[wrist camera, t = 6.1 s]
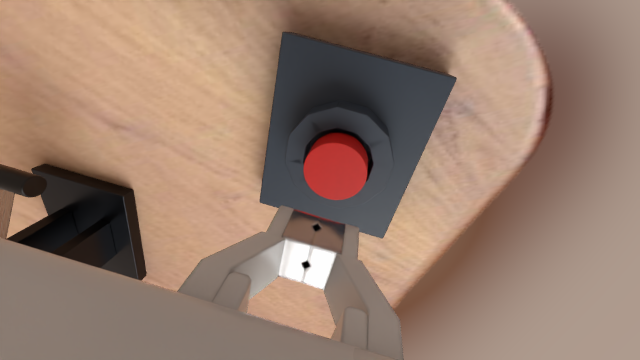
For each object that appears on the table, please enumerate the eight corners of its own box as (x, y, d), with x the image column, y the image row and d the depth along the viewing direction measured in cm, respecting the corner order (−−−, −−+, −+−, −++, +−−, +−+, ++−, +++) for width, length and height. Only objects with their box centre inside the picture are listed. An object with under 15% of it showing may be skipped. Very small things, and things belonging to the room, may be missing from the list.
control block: (290, 31, 16) (271, 30, 13) (449, 74, 16) (468, 83, 13) (266, 191, 22) (249, 216, 19) (382, 225, 22) (383, 255, 19)
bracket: (44, 163, 25) (-182, 250, 15) (133, 189, 25) (-36, 297, 14) (74, 252, 31) (-72, 358, 21) (146, 275, 31) (33, 394, 20)
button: (316, 125, 16) (310, 134, 14) (375, 141, 15) (376, 153, 14) (304, 177, 17) (297, 190, 16) (357, 192, 17) (356, 207, 16)
